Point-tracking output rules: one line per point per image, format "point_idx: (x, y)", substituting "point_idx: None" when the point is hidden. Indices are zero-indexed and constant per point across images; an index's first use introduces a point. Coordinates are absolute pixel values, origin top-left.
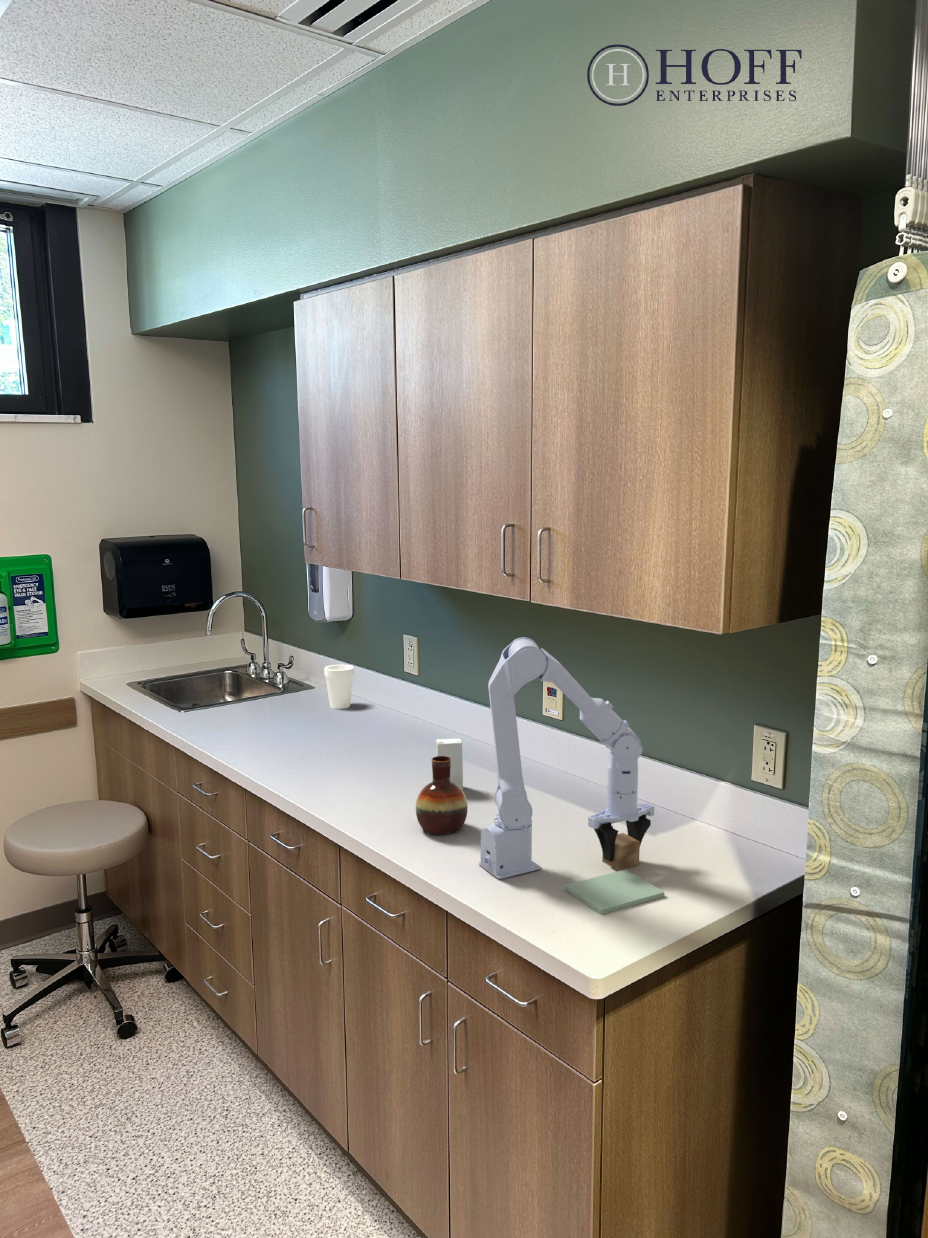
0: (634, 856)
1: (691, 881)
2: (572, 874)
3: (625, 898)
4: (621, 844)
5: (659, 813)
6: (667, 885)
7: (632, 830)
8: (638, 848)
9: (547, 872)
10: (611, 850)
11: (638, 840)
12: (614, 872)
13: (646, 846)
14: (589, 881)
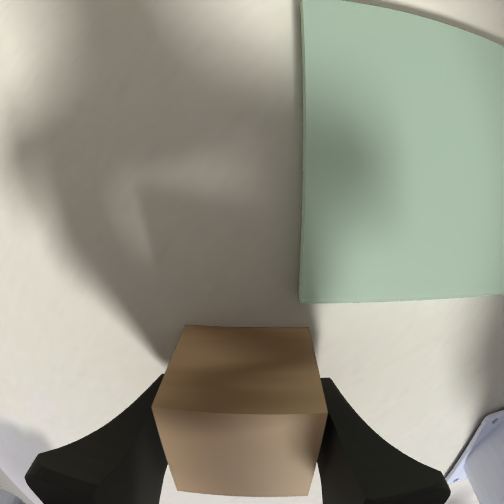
0: (205, 357)
1: (79, 81)
2: (458, 368)
3: (489, 68)
4: (288, 428)
5: (9, 465)
6: (200, 84)
7: (147, 484)
8: (170, 380)
9: (486, 398)
10: (349, 412)
11: (145, 420)
12: (371, 300)
13: (79, 411)
14: (500, 275)
